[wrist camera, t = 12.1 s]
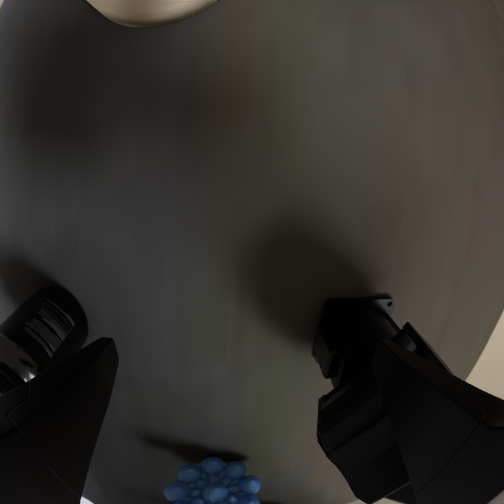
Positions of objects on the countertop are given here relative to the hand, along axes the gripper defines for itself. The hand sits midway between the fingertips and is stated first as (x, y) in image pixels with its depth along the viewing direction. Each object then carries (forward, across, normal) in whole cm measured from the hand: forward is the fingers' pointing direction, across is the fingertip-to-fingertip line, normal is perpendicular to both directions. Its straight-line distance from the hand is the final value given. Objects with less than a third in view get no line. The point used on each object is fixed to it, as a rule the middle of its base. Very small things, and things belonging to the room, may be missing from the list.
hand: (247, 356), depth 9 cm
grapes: (+13, +3, +30) cm, 33 cm away
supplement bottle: (+13, +17, +8) cm, 23 cm away
